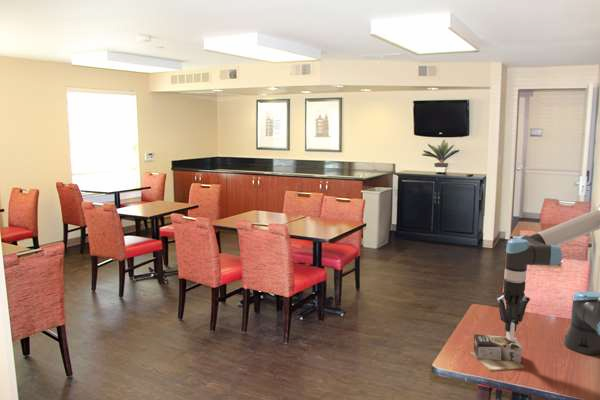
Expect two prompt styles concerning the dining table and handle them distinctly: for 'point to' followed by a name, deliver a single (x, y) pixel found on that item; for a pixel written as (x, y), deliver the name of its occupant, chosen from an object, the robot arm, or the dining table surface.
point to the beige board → (497, 364)
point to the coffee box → (497, 348)
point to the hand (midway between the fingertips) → (509, 338)
